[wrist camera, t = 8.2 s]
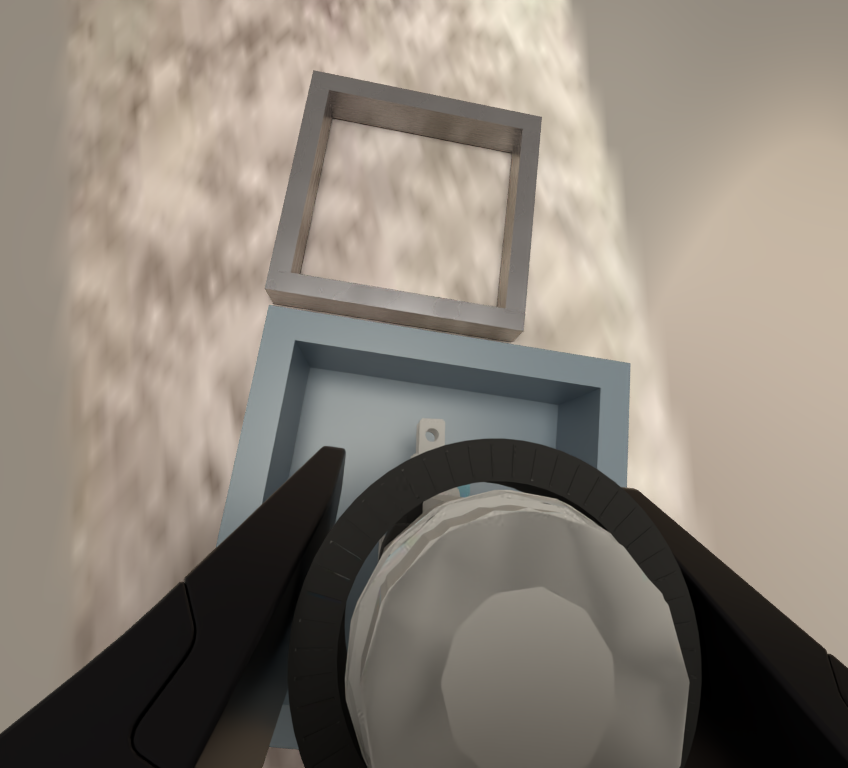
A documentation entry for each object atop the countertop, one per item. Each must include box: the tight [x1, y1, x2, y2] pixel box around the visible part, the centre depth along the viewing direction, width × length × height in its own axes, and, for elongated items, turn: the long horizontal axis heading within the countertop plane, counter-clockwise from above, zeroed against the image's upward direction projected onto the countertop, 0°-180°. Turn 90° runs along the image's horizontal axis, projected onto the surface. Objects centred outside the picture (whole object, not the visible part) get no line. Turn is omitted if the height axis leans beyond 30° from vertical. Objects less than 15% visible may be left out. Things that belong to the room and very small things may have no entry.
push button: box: [287, 418, 702, 768], centre depth 10 cm, size 7×5×10 cm
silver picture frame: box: [265, 70, 542, 342], centre depth 19 cm, size 10×10×2 cm
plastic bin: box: [216, 305, 630, 749], centre depth 15 cm, size 12×12×4 cm
